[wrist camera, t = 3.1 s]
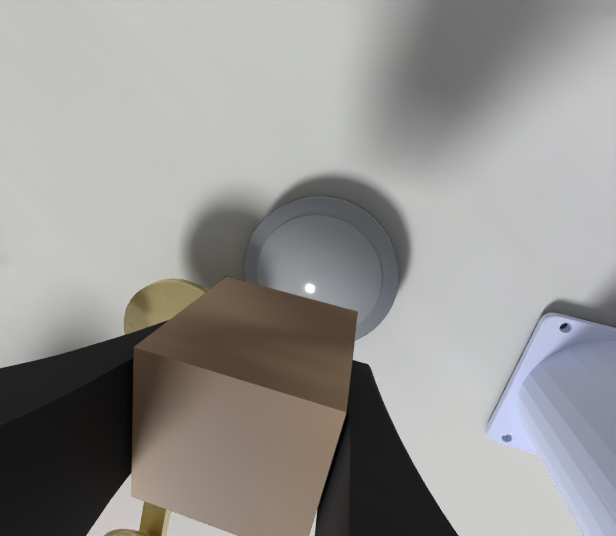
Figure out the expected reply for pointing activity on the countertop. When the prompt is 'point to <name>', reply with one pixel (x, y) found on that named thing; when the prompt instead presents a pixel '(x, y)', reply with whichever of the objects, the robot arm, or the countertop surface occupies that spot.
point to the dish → (326, 257)
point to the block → (242, 408)
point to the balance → (141, 314)
